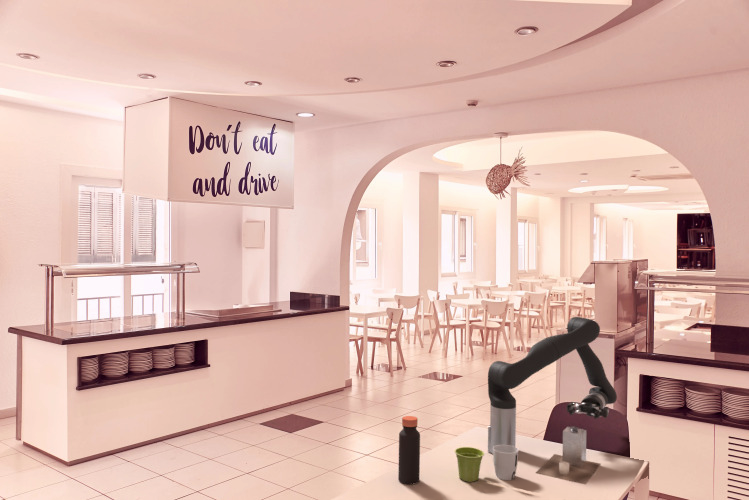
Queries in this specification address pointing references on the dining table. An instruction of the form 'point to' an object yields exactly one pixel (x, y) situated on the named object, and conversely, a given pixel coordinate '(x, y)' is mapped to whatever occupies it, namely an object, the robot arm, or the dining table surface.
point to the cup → (505, 461)
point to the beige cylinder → (563, 468)
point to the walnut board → (575, 472)
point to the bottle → (409, 451)
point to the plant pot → (469, 463)
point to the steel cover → (574, 446)
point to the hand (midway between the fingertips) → (583, 414)
